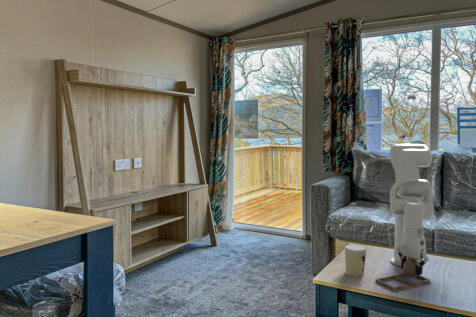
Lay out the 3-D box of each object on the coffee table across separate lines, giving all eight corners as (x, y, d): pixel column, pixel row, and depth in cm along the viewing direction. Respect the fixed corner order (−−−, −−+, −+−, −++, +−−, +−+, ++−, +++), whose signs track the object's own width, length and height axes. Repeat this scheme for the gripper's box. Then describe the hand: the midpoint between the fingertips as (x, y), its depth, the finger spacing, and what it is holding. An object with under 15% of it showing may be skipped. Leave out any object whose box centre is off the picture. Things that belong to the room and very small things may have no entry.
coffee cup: (366, 278, 169) (367, 251, 168) (344, 276, 171) (345, 249, 170) (364, 270, 178) (364, 244, 177) (343, 268, 180) (343, 243, 179)
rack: (405, 272, 175) (405, 269, 175) (430, 283, 164) (430, 279, 163) (370, 280, 166) (370, 276, 166) (394, 291, 155) (394, 288, 155)
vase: (419, 280, 161) (419, 260, 160) (401, 277, 165) (402, 257, 164) (421, 275, 167) (421, 255, 166) (404, 272, 171) (404, 253, 170)
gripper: (437, 235, 158) (435, 277, 159) (402, 225, 174) (401, 263, 175) (424, 237, 155) (422, 280, 156) (390, 227, 171) (389, 266, 172)
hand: (411, 271), depth 166 cm, fingers closed on vase, 6 cm apart
